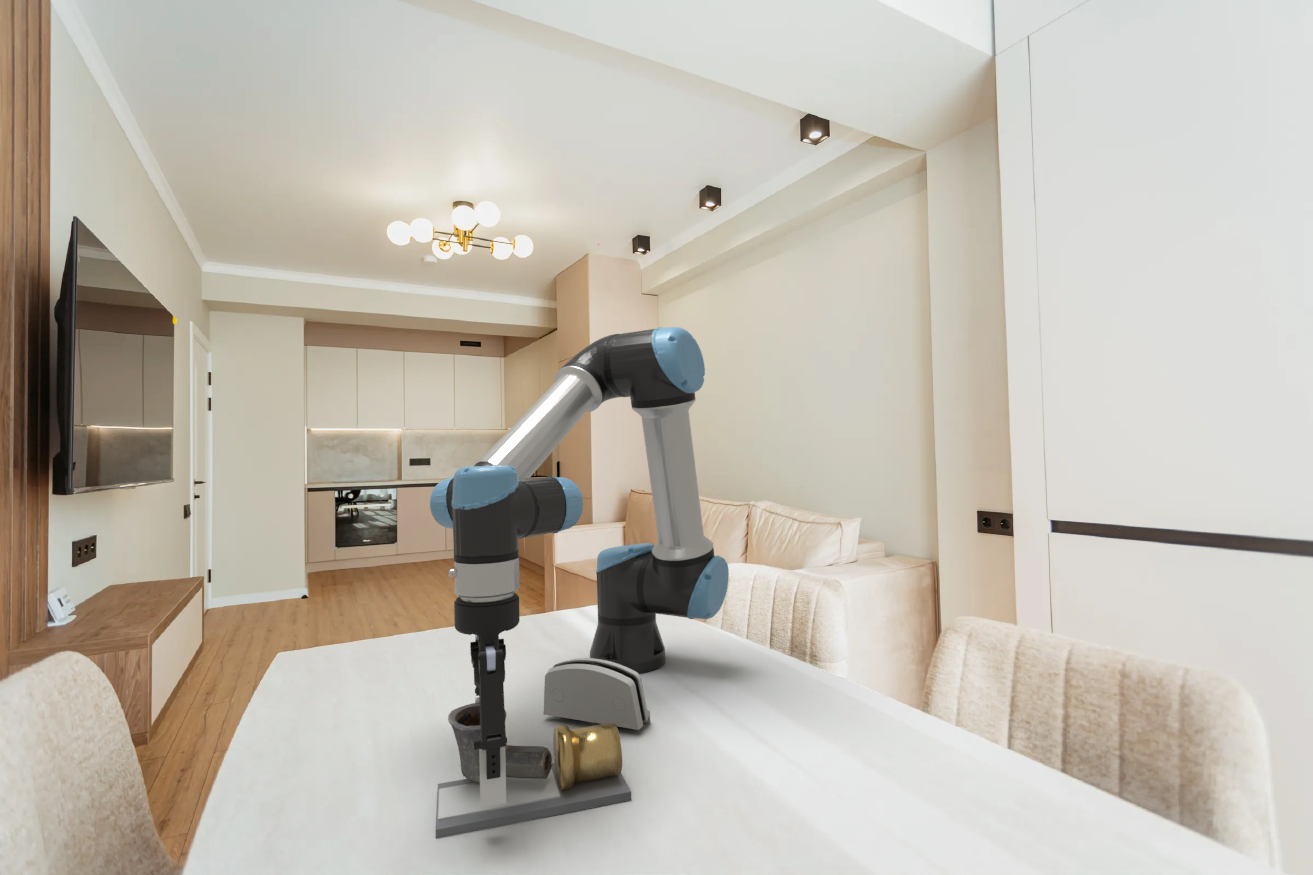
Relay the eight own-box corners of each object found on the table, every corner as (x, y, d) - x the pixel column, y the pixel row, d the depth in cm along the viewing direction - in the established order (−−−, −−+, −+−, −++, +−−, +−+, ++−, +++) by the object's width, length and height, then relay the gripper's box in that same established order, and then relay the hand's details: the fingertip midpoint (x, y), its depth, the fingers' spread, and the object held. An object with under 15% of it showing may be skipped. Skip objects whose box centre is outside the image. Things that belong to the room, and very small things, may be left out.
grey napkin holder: (653, 723, 96) (648, 660, 95) (640, 739, 91) (636, 674, 91) (558, 708, 102) (553, 649, 101) (542, 723, 98) (537, 661, 97)
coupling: (610, 763, 83) (608, 708, 83) (624, 791, 76) (622, 731, 76) (553, 773, 80) (552, 716, 81) (563, 803, 74) (562, 741, 74)
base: (611, 760, 84) (611, 751, 84) (631, 799, 75) (631, 789, 75) (437, 791, 77) (437, 782, 77) (435, 838, 68) (435, 827, 68)
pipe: (540, 797, 74) (537, 734, 73) (441, 786, 76) (436, 725, 75) (558, 763, 80) (554, 705, 79) (465, 754, 82) (461, 697, 81)
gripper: (454, 577, 86) (456, 734, 85) (454, 624, 62) (457, 841, 62) (510, 573, 88) (512, 725, 88) (530, 616, 64) (534, 825, 64)
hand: (489, 773), depth 75 cm, fingers open, 13 cm apart
